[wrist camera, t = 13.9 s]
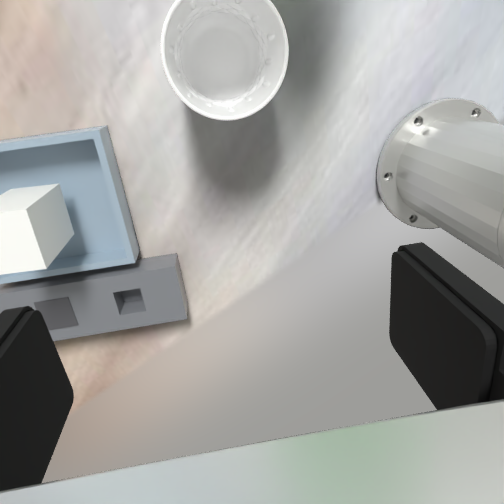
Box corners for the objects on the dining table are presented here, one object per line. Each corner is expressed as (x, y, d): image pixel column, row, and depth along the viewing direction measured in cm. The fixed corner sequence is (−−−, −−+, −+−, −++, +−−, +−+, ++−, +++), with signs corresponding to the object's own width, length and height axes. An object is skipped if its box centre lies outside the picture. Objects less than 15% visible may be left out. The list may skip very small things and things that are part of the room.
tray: (106, 125, 35) (98, 129, 32) (139, 249, 40) (135, 262, 37) (-47, 146, 34) (-68, 153, 31) (7, 270, 39) (-8, 285, 36)
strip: (176, 253, 40) (174, 269, 37) (187, 303, 43) (186, 322, 39) (-26, 285, 39) (-46, 304, 36) (-2, 334, 42) (-20, 356, 38)
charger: (67, 177, 35) (26, 209, 27) (81, 225, 37) (46, 268, 29) (21, 182, 35) (-35, 216, 27) (37, 230, 37) (-11, 276, 29)
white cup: (182, 114, 35) (175, 129, 26) (162, 11, 32) (146, -14, 23) (270, 101, 35) (294, 111, 26) (259, -2, 32) (282, -32, 23)
